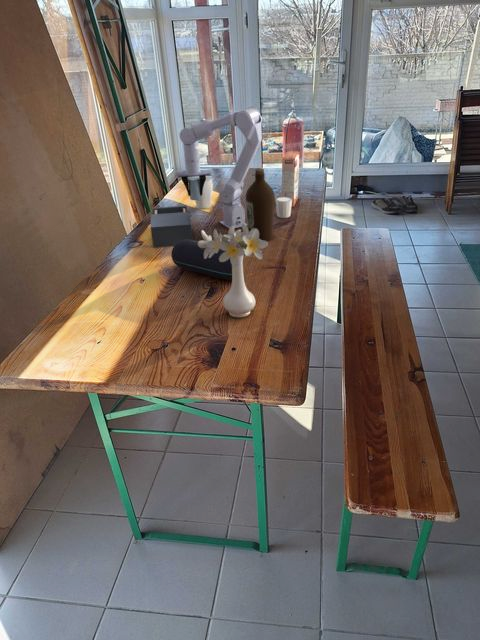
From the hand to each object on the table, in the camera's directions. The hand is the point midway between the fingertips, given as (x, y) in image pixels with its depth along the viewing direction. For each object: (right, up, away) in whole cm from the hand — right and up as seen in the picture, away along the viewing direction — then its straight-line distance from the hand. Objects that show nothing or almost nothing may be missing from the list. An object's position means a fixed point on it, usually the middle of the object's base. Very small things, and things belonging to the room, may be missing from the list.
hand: (195, 194), depth 201 cm
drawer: (-9, -13, -2) cm, 16 cm away
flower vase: (+20, -53, -61) cm, 83 cm away
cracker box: (+40, +3, +23) cm, 46 cm away
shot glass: (+36, -6, +9) cm, 38 cm away
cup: (+1, +1, +20) cm, 20 cm away
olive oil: (+27, -20, -12) cm, 35 cm away
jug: (0, -1, +1) cm, 2 cm away
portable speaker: (+10, -38, -39) cm, 55 cm away
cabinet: (-7, -21, -12) cm, 25 cm away
